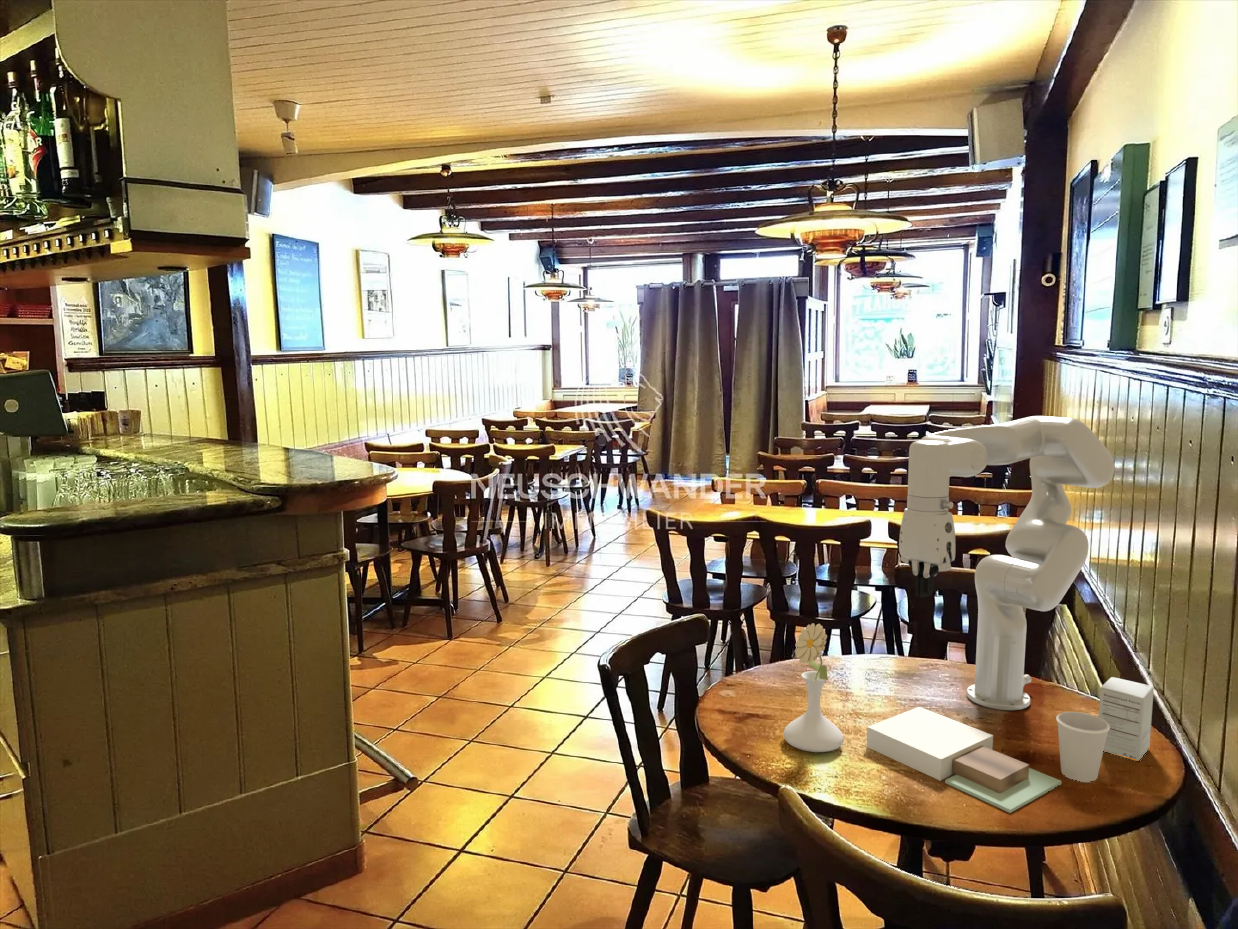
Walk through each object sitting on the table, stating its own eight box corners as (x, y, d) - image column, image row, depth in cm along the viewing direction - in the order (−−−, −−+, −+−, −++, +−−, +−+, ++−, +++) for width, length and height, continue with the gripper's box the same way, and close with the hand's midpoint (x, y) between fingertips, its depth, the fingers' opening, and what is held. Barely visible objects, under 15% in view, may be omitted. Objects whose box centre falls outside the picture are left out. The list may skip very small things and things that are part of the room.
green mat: (997, 757, 157) (997, 754, 157) (1061, 784, 148) (1061, 781, 148) (945, 783, 148) (945, 780, 148) (1010, 813, 139) (1010, 809, 139)
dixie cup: (1087, 791, 145) (1091, 735, 144) (1042, 770, 153) (1045, 717, 151) (1116, 779, 149) (1120, 725, 148) (1071, 759, 157) (1075, 707, 155)
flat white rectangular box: (918, 725, 171) (919, 706, 171) (992, 755, 158) (993, 735, 158) (866, 746, 162) (867, 727, 162) (940, 780, 149) (941, 759, 149)
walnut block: (981, 758, 156) (981, 745, 156) (1028, 778, 149) (1029, 764, 148) (952, 772, 151) (952, 759, 151) (999, 793, 144) (1000, 779, 143)
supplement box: (1106, 737, 165) (1111, 675, 164) (1150, 750, 160) (1155, 686, 158) (1094, 750, 160) (1099, 686, 159) (1139, 763, 155) (1144, 697, 153)
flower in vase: (779, 730, 169) (781, 609, 166) (837, 732, 169) (840, 610, 165) (788, 762, 156) (791, 631, 153) (851, 763, 156) (855, 632, 153)
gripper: (973, 507, 161) (969, 601, 164) (907, 496, 174) (903, 584, 176) (950, 511, 157) (946, 608, 160) (883, 500, 169) (880, 590, 172)
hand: (923, 595), depth 168 cm, fingers closed
